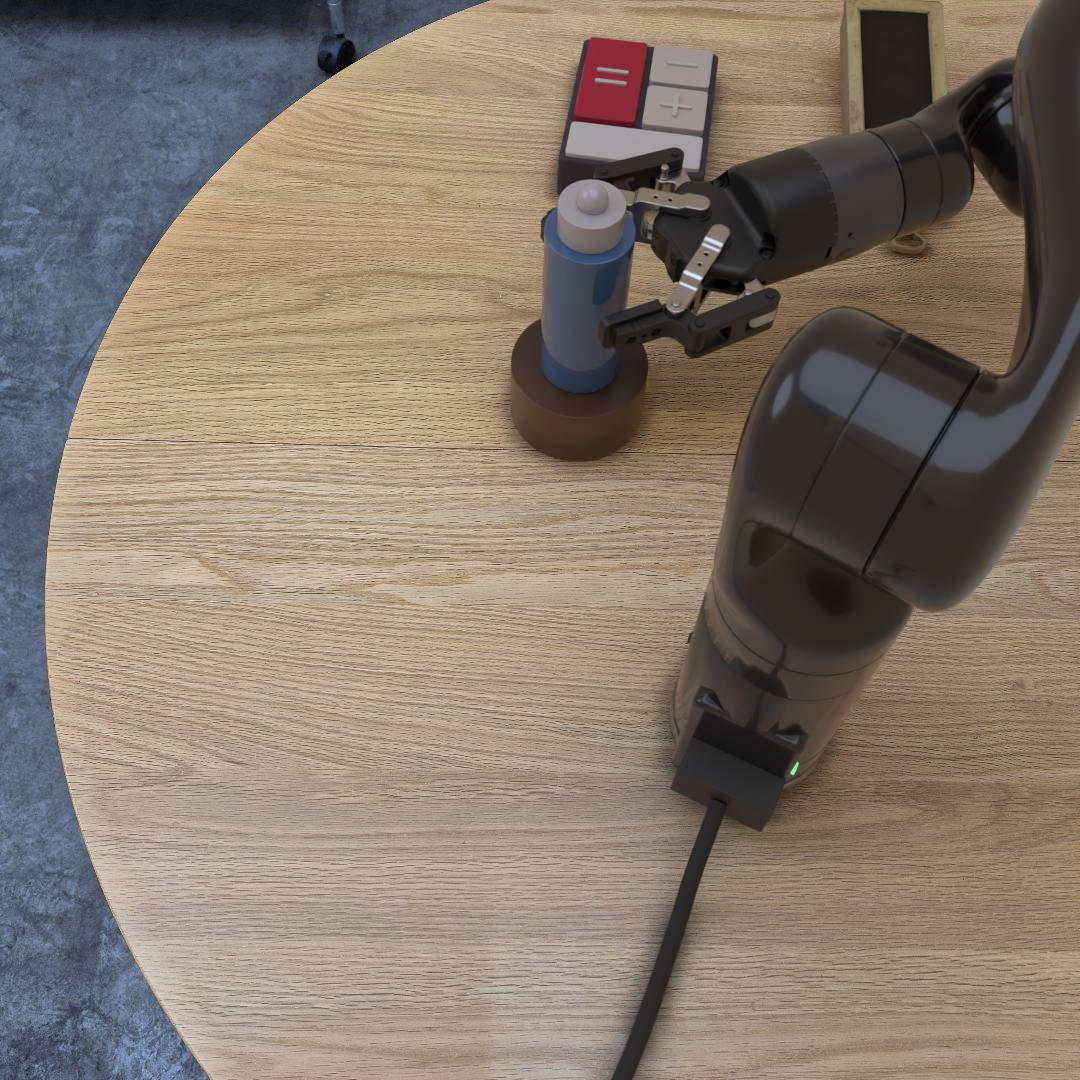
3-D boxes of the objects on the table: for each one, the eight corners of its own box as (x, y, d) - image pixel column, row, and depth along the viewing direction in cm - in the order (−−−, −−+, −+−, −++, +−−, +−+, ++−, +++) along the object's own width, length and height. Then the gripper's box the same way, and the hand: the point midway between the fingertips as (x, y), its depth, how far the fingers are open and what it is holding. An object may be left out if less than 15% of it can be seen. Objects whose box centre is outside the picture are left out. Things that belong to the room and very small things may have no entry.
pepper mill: (599, 405, 77) (617, 235, 64) (526, 375, 78) (529, 202, 65) (632, 348, 79) (656, 172, 66) (561, 320, 80) (571, 141, 67)
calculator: (720, 45, 96) (706, 169, 88) (712, 91, 100) (698, 214, 92) (584, 29, 97) (557, 151, 89) (581, 75, 100) (555, 196, 92)
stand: (608, 481, 80) (613, 438, 75) (488, 430, 82) (486, 385, 77) (662, 384, 84) (670, 338, 80) (546, 338, 86) (548, 290, 81)
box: (924, 41, 100) (942, -5, 96) (946, 273, 93) (967, 236, 88) (824, 38, 100) (838, -8, 96) (838, 271, 93) (854, 233, 88)
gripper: (765, 85, 75) (524, 154, 71) (885, 243, 68) (627, 328, 65) (744, 177, 81) (523, 244, 78) (852, 329, 75) (617, 410, 71)
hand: (571, 282), depth 71 cm, fingers open, 8 cm apart
